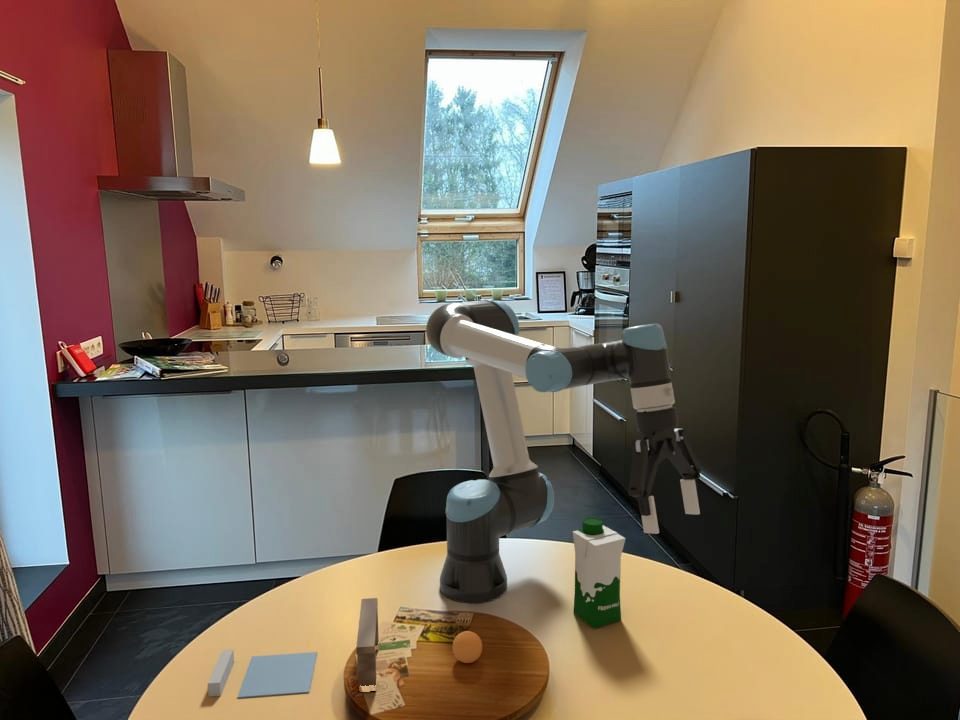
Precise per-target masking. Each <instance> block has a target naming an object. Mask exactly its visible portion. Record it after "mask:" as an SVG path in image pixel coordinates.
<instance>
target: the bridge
mask: <svg viewBox="0 0 960 720" xmlns="http://www.w3.org/2000/svg"><path fill="white" fill-rule="evenodd" d="M378 600H379V599H378V597H373V598H371V597H370V598H361V601H360V609H359V619H358V620H359V622H358V629H357V636H356V637H357V639H356V645H355V647H356V659H357V661H356V662H357V683H358V686H360V685H361V686H365V685H366V686H369V685H374V686H375V685H376V679H377V656H376V652H377V651H375V646H377V645H378V642H379V641H380V640H379V616H378V615H379V613H378V604H379V602H378ZM379 643H380V642H379Z"/></svg>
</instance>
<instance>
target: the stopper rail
mask: <svg viewBox="0 0 960 720" xmlns="http://www.w3.org/2000/svg"><path fill="white" fill-rule="evenodd" d="M234 663H235V655H234V648H233V649H222V650H221V652H220V654H219V657H218V659H217V661H216V664H215V666H214V668H213V670H212V672H211V675H210V677H209V679H208V681H207V690H208V694H207V695H208V697H209V698H211V697H220V696H222V694H223V692H224V689H225V686H226V683H227V681H228V679H229V676H230V673H231V671H232V669H233V665H234Z"/></svg>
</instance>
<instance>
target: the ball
mask: <svg viewBox="0 0 960 720" xmlns="http://www.w3.org/2000/svg"><path fill="white" fill-rule="evenodd" d="M482 651H483V642H482V640H481V637H480V636H479V635H478V634H477V633H476V632H474V631H470V630H465V631H461V632H460V633H458V634H457V635H456V636H455V638H454V640H453V642H452V653H453V655H454V657H455V658H456V659H457V660H458V661H459V662H461V663H465V664H472V663H474V662H475V661H477V660H478V659H479V658H480V656H481V654H482Z"/></svg>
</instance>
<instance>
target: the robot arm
mask: <svg viewBox="0 0 960 720" xmlns="http://www.w3.org/2000/svg"><path fill="white" fill-rule="evenodd" d="M425 330H426V331H425V332H426V333H425V334H426V337H427V341H428V343H429V345H430V346H431V347H432V348H433V349H434V350H435V351H436V352H438V353H439V354H442V355H444V356H447V357H450V358H452V359H453V358H454V359H460V358H463V357H464V358H465V362H466V363H467V364H468V365H470V366H472V368H473V371H474V376H475V381H476V386H477V391H478V396H479V402H480V407H481V410H482V416H483V420H484V425H485V426H484V427H485V431H486V435H487V440H488V441H487V442H488V445H489V450H490V456H491V459H492V460H491V461H492V464H493V465H492V467H493V468H492V470H491V471H490V472H489V474H488V479H485V478H484V479H482V478H481V479H480V478H478V479H475V480H473V479H470V480H467V481H463V482H460V483H458V484H456V485H455V486H453V487H452V488H451V489H450V490H449V492H448V493H447V497H446V504H445V505H446V507H445V515H446V550H447V551H446V557H445V560H444V563H443V567H442V569H441V572H440V576H439V589H440V592H441V593H442V595H444V596H445V597H447V598H448V599H450V600H452V601H456V602H460V603H468V604H477V603H486V602H490V601H493V600H496V599H499V598H500V597H502V596H503V594H505V593H506V591H507V588H508V576H507V572H506V570H505V567H504V564H503V560H502V558H501V555H500V538H501V537H503V536H506V535H508V534H509V535H510V534H512V533H515V532H517V531H520V530H524V529H526V528H533V527H535V526H537V525H539V524H540V523H543V522H544V521H546V520H548V518H549V517H550V515H551V513H552V512H553V509H554V506H555V505H554V504H555V491H554V488H553V486H552V483H551V481H550V480H548V477H547V476H546V475H545V474H543V473H541V472H539V466H538V464H535V463H534V462H533V461H532V460H531V459H530V455H529V450H528V445H527V441H526V436H525V431H524V426H523V421H522V417H521V413H520V412H521V411H520V407H519V402H518V398H517V397H518V396H517V392H516V388H515V382H514V377H513V375H515V376H518V377H520V378H523V379H526V380H527V382H528V384H529V385H530V386H531V387H532V389H533V390H535V391H536V392H539V393H557V392H560V391H563V390H569V389H573V388H578V387H583V386H584V387H585V386H589V385H595V384H599V383H605V382H610V381H619V380H628V381H629V386H630V393H631V394H630V395H631V400H632V401H631V402H632V407H633V409H634V410H636V411H635V413H634V419H635V425H636V429H637V431H638V432H640V433H641V434H642V439H637V440H636V439H635V440H632V441H631V446H632V447H631V448H632V459H631V467H630V474H629V482H628V490H627V494H628V496H631V497H632V498H637V502H638V508H639V514H640V516H641V523H642V528H643V533H644V534H655V535H657V534H659V533H660V528H659V524H658V523H659V522H658V517H657V516H658V515H657V510H656V503H655V497H654V495H651V492H652V489H653V486H654V482H655V479H656V475H657V470H658V467H659V465H660V464H661V463H662V461H663V460H666V459H668V460H669V461H670V462H671V464H672V465H673V467H674V468H675V469H676V470H677V472H678V473H679V474H680V476H681V477H682V479H680V480H679V481H680V482H679V483H680V489H681V495H682V501H683V507H684V513H685V515H700V514H701V512H700V511H701V510H700V506H699V505H700V504H699V497H698V490H697V484H696V483H697V482H696V479H700V478H701V472H702V468H701V466H700V463H699V461H698V459H697V457H696V455H695V453H694V452H693V449H692V447H691V445H690V442H689V440H688V438H687V434H686V430H685V428H684V427H683V428H677V427H679V417H678V411H677V408H676V407H675V406H673V405H674V404H675V403H676V400H675V395H674V393H675V392H674V389H673V382H672V377H671V372H670V371H671V370H670V363H669V362H670V361H669V355H668V344H667V342H666V336H665V333H664V329H663V326H662V325H660V324H659V323H649V324H642V325H635V326H629V327H626V328H624V329H622V332H621V335H622V338H621V339H619V340H614V341H607V342H601V343H599V342H598V343H591V344H586V345H579V346H571V347H557V346H553V345H550V344H546V343H543V342H541V341H537V340H533V339H530V338H527V337H523V336H520V323H519V319H518V316H517V315H516V313H515V311H514V310H513V309H512V308H511V306H510V305H509V304H507V303H506V302H504V301H501V300H491V299H485V300H476V301H475V300H474V301H463V302H450V303H447V304H443V305H440V306H439V307H437V309H435V310H434V311H433V312H432V313H431V315H430V316H429V318H428V320H427V322H426V327H425Z"/></svg>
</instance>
